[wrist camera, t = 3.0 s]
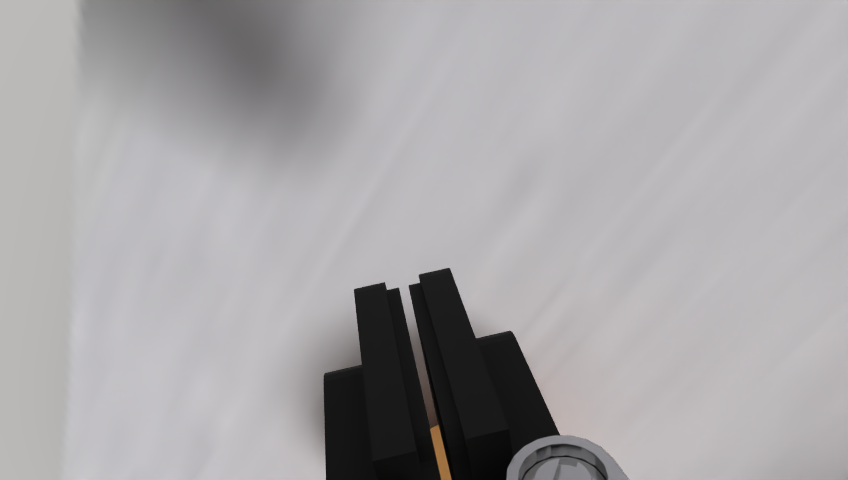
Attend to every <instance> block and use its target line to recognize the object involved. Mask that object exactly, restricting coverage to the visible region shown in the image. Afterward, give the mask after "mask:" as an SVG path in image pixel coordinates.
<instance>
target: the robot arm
mask: <svg viewBox="0 0 848 480" xmlns="http://www.w3.org/2000/svg"><path fill="white" fill-rule="evenodd" d="M419 279H420V283H417V284H413V285H409V290H410V295H411V299H412V304H413V309H414V314H415V318H416V323H417V328H418V332H419V337H420V342H421V346H422V351H423V356H424V360H425V365H426V370H427V375H428V379H429V384H430V389H431V393H432V398H433V403H434V407H435V412H436V416H437V421H438V425H439V429H440V433H441V437H442V442H443V446H444V450H445V454H446V458H447V463H448V467H449V471H450V475H451V479H452V480H629V478H628V477H627V476H626V474H625V473H624V472H623V470H622V469H621V468H620V467H619V465H618V464H617V463H616V461H615V460H614V459H613V457H611V456H610V455H609V454H608V453H607V452H606V451H605V450H604V449H603V448H602V447H601V446H599V445H597V444H595V443H593V442H591V441H589V440H587V439H583V438H579V437H575V436H563V435H560V434H559V432H558V430H557V428H556V425H555V423H554V421H553V419H552V417H551V414H550V412H549V410H548V408H547V406H546V404H545V401H544V399H543V397H542V395H541V393H540V390H539V388H538V386H537V384H536V382H535V379H534V377H533V375H532V373H531V371H530V369H529V366H528V364H527V362H526V360H525V358H524V355H523V353H522V351H521V349H520V347H519V344H518V342H517V340H516V338H515V336H514V334H513V332H511V331H507V332H503V333H498V334H494V335H489V336H485V337H481V338H475V335H474V333H473V330H472V327H471V324H470V322H469V319H468V316H467V314H466V311H465V308H464V305H463V303H462V300H461V297H460V294H459V292H458V289H457V286H456V284H455V281H454V278H453V275H452V273H451V270H450V268H446V269H442V270H437V271H433V272H429V273H424V274H420V275H419ZM354 295H355V304H356V313H357V323H358V332H359V341H360V351H361V360H362V365H359V366H355V367H350V368H346V369H342V370H337V371H333V372H329V373H325V374H324V415H325V455H326V480H441V476H440V472H439V467H438V463H437V458H436V454H435V449H434V445H433V440H432V436H431V431H430V427H429V422H428V418H427V413H426V409H425V404H424V400H423V395H422V391H421V386H420V381H419V377H418V372H417V368H416V363H415V359H414V354H413V350H412V345H411V341H410V336H409V332H408V327H407V323H406V318H405V314H404V309H403V305H402V300H401V296H400V291H399V288H395V289H391V290H387V289H386V285H385V282H384V283H379V284H375V285H370V286H366V287H362V288H357V289H354Z"/></svg>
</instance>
